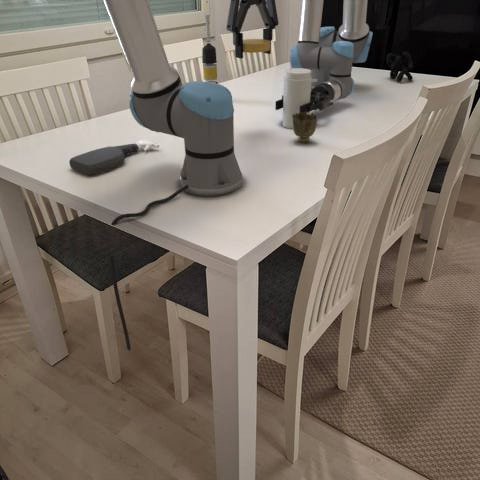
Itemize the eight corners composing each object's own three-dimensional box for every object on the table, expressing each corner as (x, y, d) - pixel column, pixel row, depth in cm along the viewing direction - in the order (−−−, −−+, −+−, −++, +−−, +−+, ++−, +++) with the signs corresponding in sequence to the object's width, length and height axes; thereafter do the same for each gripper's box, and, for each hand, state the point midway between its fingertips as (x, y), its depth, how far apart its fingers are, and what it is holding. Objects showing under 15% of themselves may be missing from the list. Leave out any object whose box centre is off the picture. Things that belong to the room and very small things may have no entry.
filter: (220, 99, 177) (217, 15, 161) (206, 100, 176) (202, 16, 160) (215, 96, 182) (212, 14, 166) (202, 97, 180) (197, 14, 164)
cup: (287, 143, 133) (288, 116, 129) (296, 135, 139) (297, 110, 135) (310, 147, 130) (312, 119, 126) (319, 139, 136) (321, 113, 132)
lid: (274, 47, 130) (274, 39, 129) (262, 53, 123) (262, 44, 122) (244, 46, 134) (244, 38, 133) (231, 51, 127) (230, 43, 126)
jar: (287, 130, 144) (289, 74, 135) (278, 122, 151) (280, 69, 142) (312, 127, 146) (316, 72, 137) (302, 119, 153) (305, 67, 144)
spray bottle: (67, 168, 120) (139, 144, 136) (91, 178, 114) (163, 151, 130) (65, 157, 118) (137, 134, 134) (89, 167, 112) (162, 142, 128)
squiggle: (400, 92, 202) (376, 71, 205) (417, 76, 202) (392, 56, 205) (405, 81, 191) (380, 59, 194) (423, 64, 191) (397, 42, 194)
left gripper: (227, -34, 109) (230, 62, 121) (293, -37, 121) (290, 52, 132) (210, -34, 114) (214, 58, 126) (275, -36, 126) (273, 49, 138)
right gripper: (351, 109, 153) (316, 126, 138) (299, 99, 165) (261, 114, 150) (354, 87, 149) (318, 101, 134) (300, 78, 161) (261, 91, 146)
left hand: (253, 55), depth 129 cm, fingers closed on lid, 10 cm apart
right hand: (288, 108), depth 142 cm, fingers closed on jar, 9 cm apart
